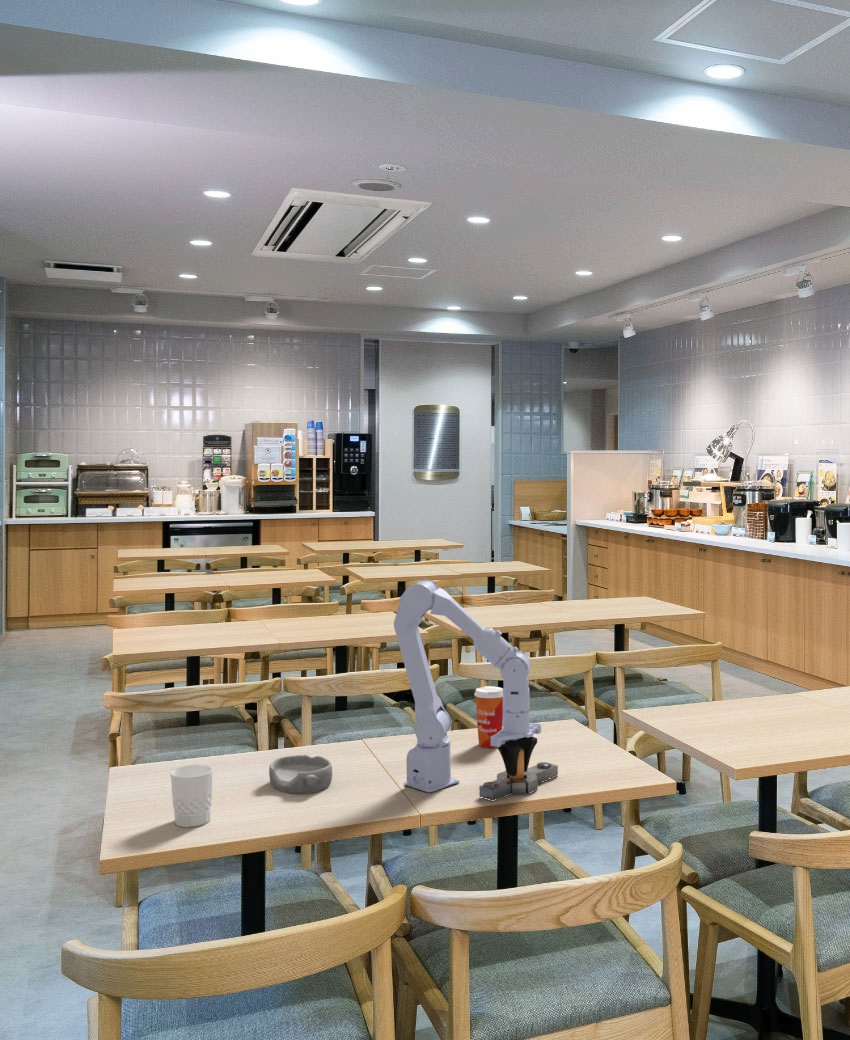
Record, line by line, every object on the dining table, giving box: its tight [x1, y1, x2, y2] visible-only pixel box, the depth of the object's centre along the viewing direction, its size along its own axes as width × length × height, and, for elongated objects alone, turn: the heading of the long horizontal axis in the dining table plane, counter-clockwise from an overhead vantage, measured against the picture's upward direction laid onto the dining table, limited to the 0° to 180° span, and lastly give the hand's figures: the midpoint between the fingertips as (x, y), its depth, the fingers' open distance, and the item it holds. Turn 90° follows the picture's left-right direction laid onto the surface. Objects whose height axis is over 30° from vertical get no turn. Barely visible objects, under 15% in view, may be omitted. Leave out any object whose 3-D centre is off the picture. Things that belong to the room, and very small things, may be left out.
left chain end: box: [478, 779, 538, 800], centre depth 193 cm, size 14×8×3 cm, turn 135°
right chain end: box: [496, 761, 559, 789], centre depth 197 cm, size 16×8×3 cm, turn 135°
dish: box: [268, 754, 333, 795], centre depth 199 cm, size 14×14×5 cm
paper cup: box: [473, 685, 503, 749], centre depth 226 cm, size 8×8×14 cm
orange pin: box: [509, 748, 524, 780], centre depth 195 cm, size 3×3×7 cm
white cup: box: [170, 764, 213, 828], centre depth 178 cm, size 8×8×10 cm
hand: (516, 772), depth 195 cm, fingers closed on orange pin, 3 cm apart
